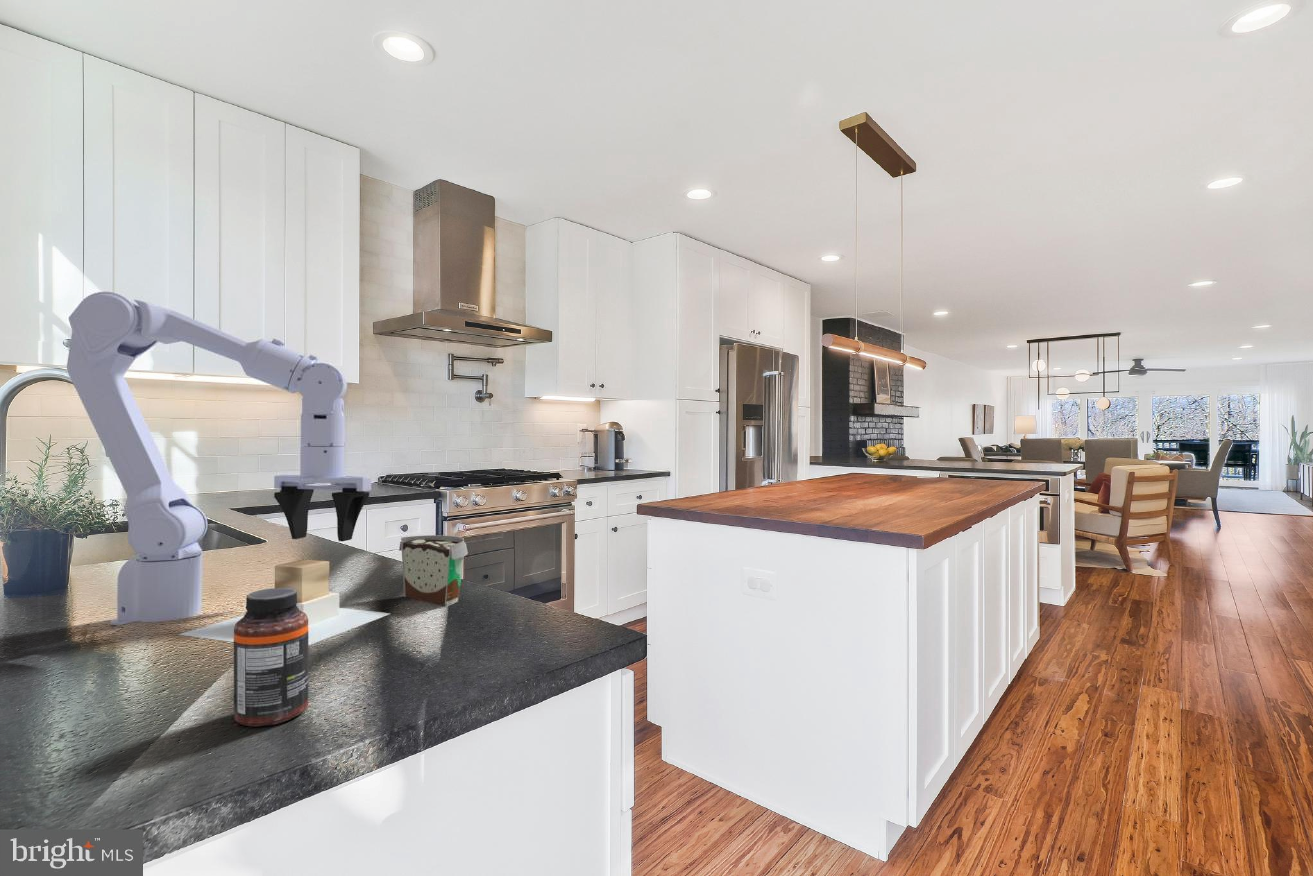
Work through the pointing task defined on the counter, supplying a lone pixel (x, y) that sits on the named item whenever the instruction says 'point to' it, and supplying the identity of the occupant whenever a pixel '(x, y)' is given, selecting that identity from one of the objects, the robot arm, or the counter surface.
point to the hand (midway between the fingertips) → (321, 539)
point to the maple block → (304, 578)
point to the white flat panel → (315, 632)
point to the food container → (432, 567)
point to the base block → (320, 608)
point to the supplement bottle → (270, 659)
